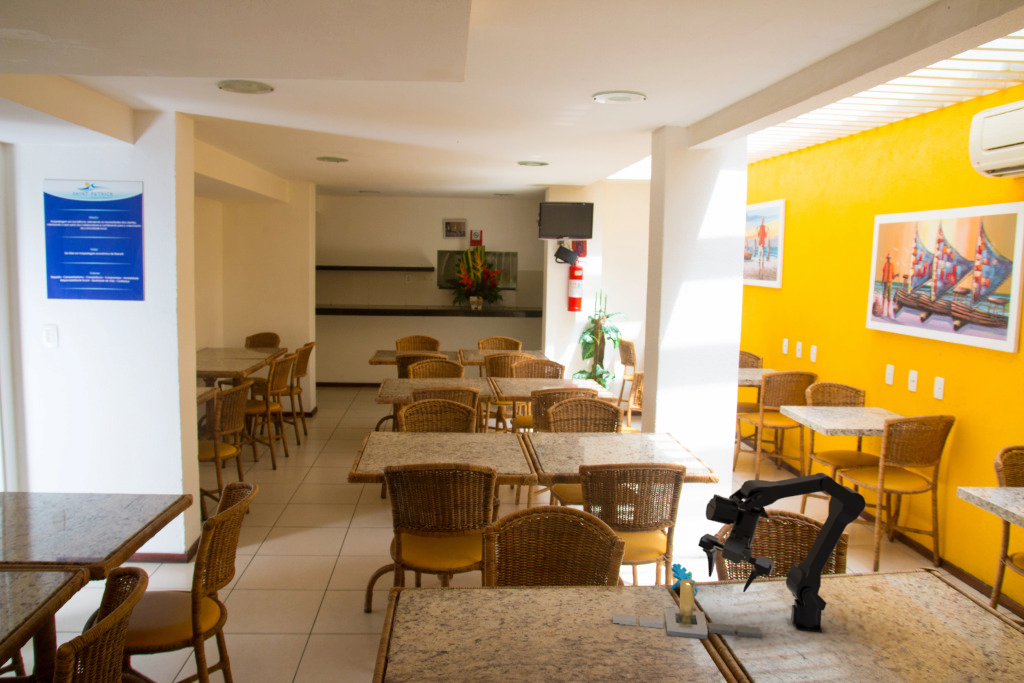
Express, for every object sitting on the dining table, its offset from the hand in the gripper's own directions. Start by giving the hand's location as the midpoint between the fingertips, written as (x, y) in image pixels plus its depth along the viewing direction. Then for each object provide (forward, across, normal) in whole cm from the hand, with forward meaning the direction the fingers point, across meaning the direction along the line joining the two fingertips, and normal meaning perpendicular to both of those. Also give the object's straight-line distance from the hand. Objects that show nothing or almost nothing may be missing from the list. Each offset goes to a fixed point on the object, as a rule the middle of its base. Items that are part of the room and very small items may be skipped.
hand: (726, 584), depth 185 cm
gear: (+13, -13, +16) cm, 24 cm away
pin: (+14, -6, -5) cm, 16 cm away
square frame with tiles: (+14, -6, -5) cm, 16 cm away
